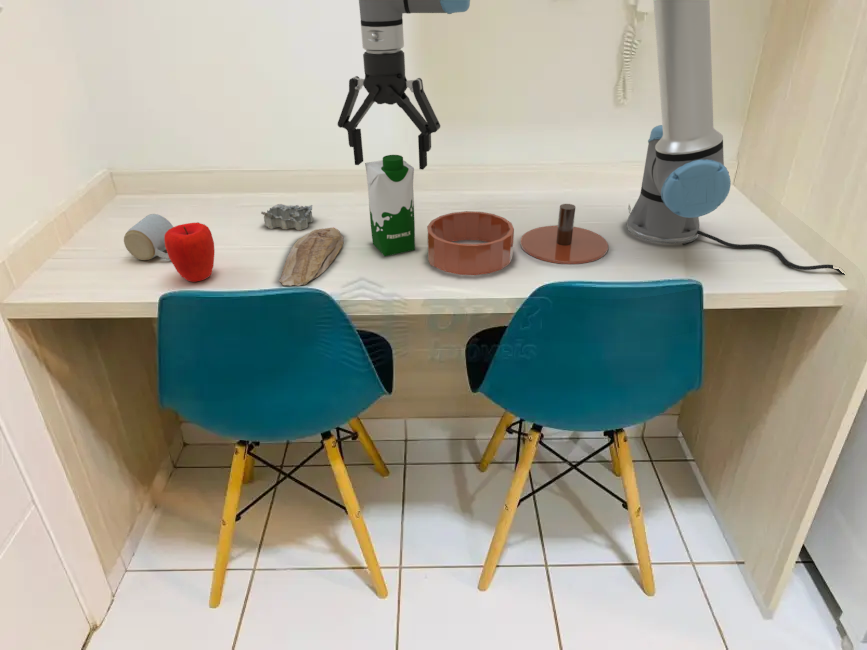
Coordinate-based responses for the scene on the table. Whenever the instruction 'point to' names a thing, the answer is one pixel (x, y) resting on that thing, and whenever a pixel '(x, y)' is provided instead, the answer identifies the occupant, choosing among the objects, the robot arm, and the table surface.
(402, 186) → the milk carton
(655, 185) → the robot arm
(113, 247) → the table surface
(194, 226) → the apple
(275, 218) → the egg carton
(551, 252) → the lid
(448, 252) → the pot
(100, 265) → the table surface
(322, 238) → the fish fossil
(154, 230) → the ceramic mug
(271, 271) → the table surface
